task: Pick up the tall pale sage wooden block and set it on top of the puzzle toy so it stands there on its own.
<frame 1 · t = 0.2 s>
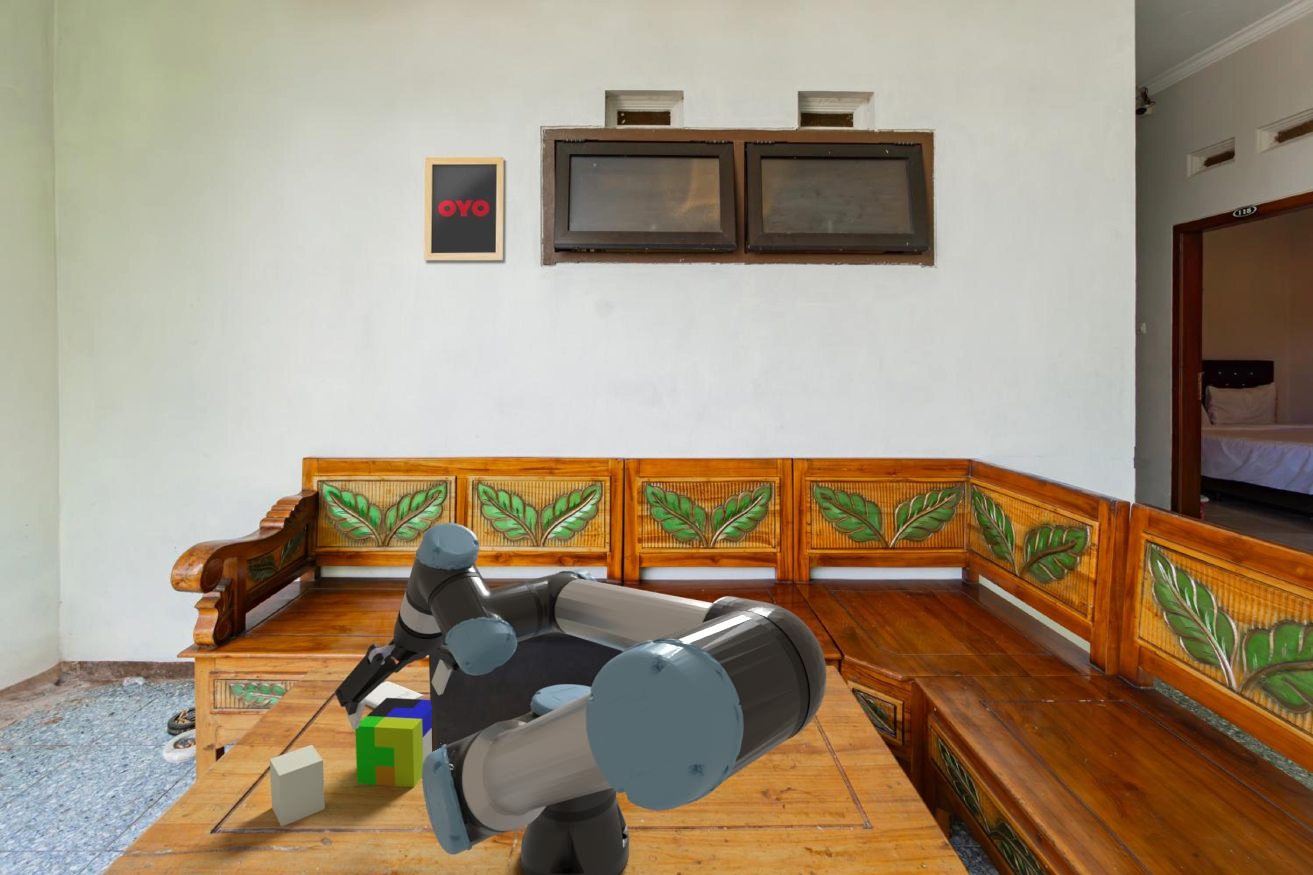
hand: (396, 703, 100), 16 cm above the table, tool tilted 35°, fingers open, 13 cm apart
external hard drive: (389, 702, 136), on the table
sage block: (298, 808, 99), on the table
puzzle toy: (400, 769, 110), on the table
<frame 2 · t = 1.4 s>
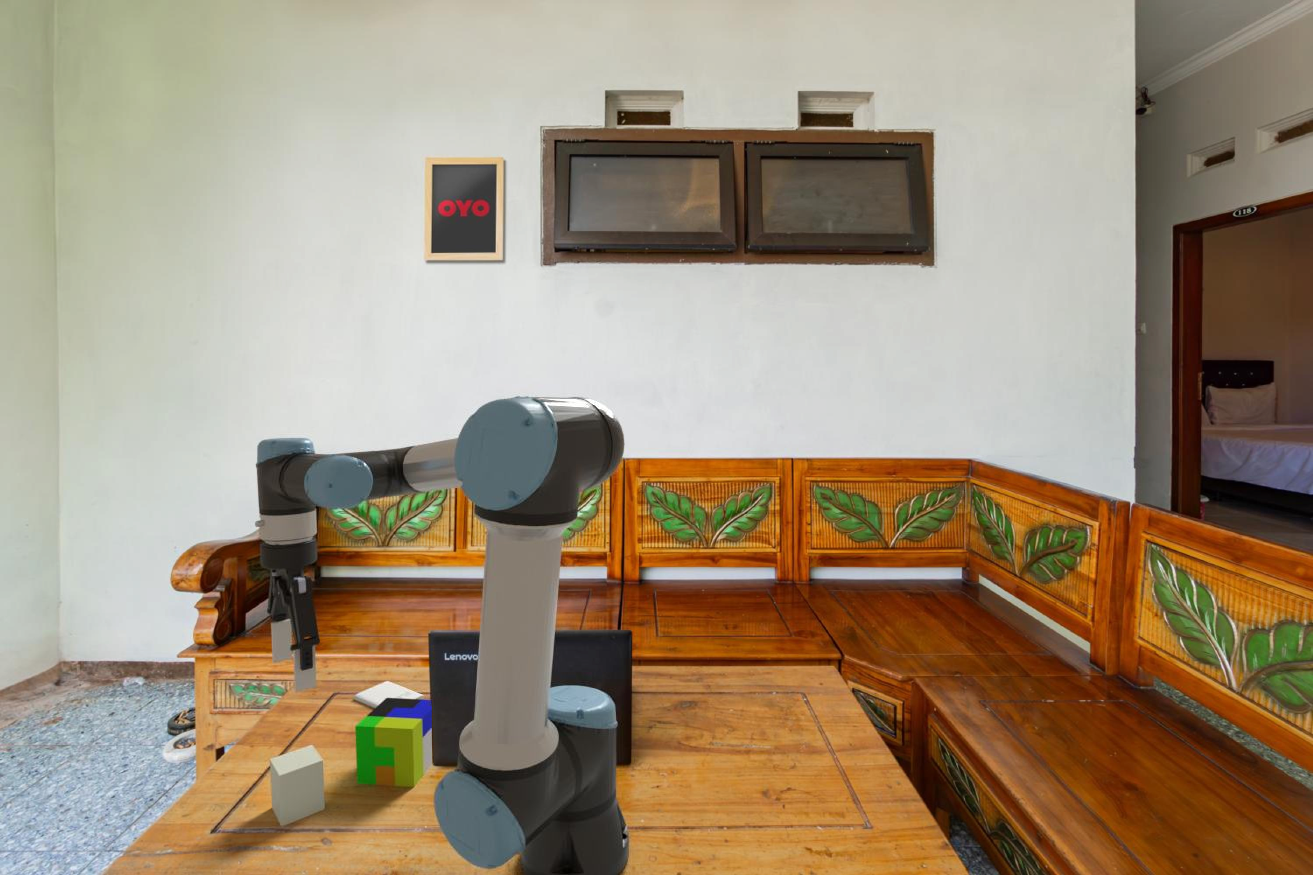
hand: (293, 673, 98), 22 cm above the table, tool pointing down, fingers open, 13 cm apart
nothing on the table moved.
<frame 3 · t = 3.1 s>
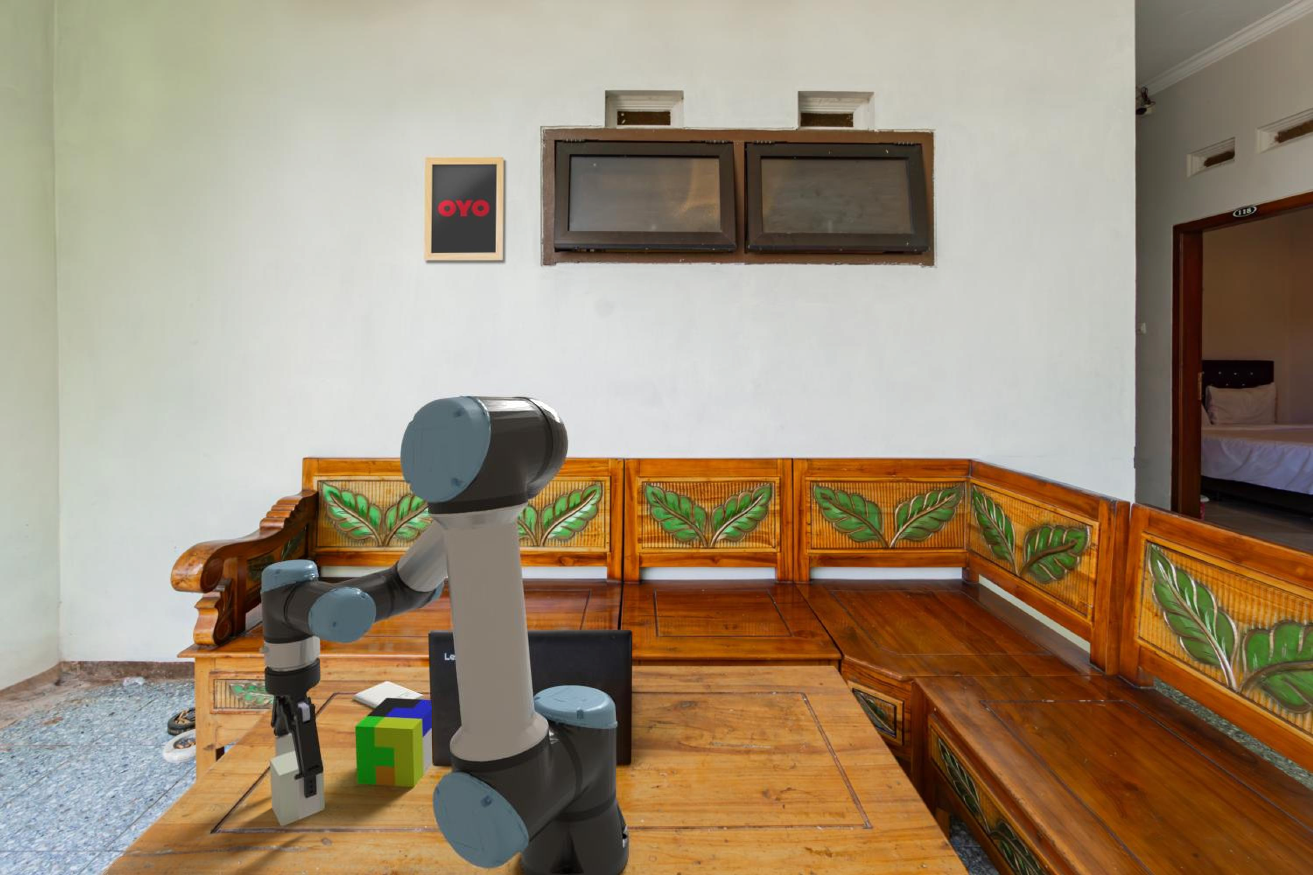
hand: (297, 793, 99), 2 cm above the table, tool pointing down, fingers open, 13 cm apart
nothing on the table moved.
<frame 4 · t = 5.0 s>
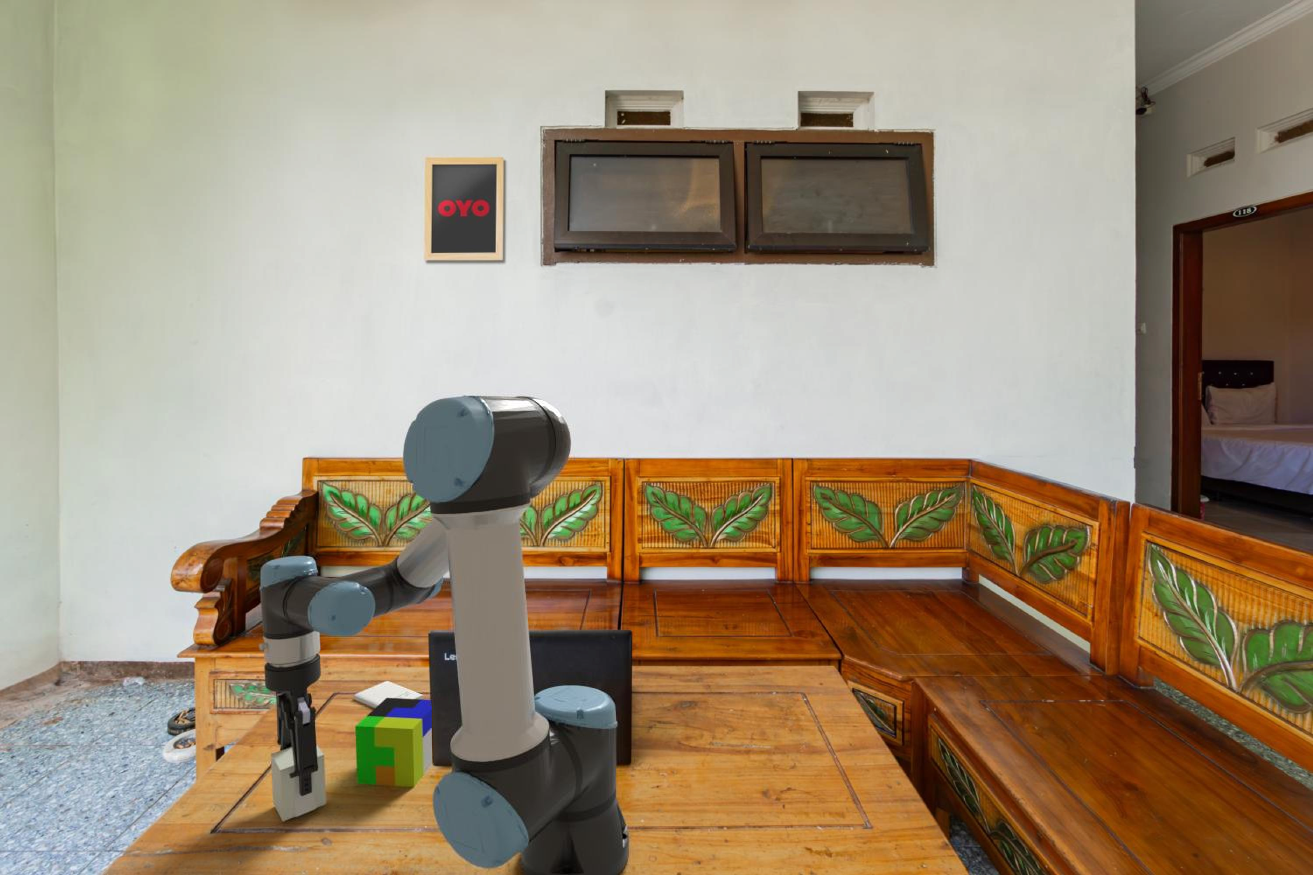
hand: (299, 801, 99), 1 cm above the table, tool pointing down, fingers closed on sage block, 6 cm apart
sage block: (299, 803, 99), point 1 cm above the table, touching gripper
everything else where it was.
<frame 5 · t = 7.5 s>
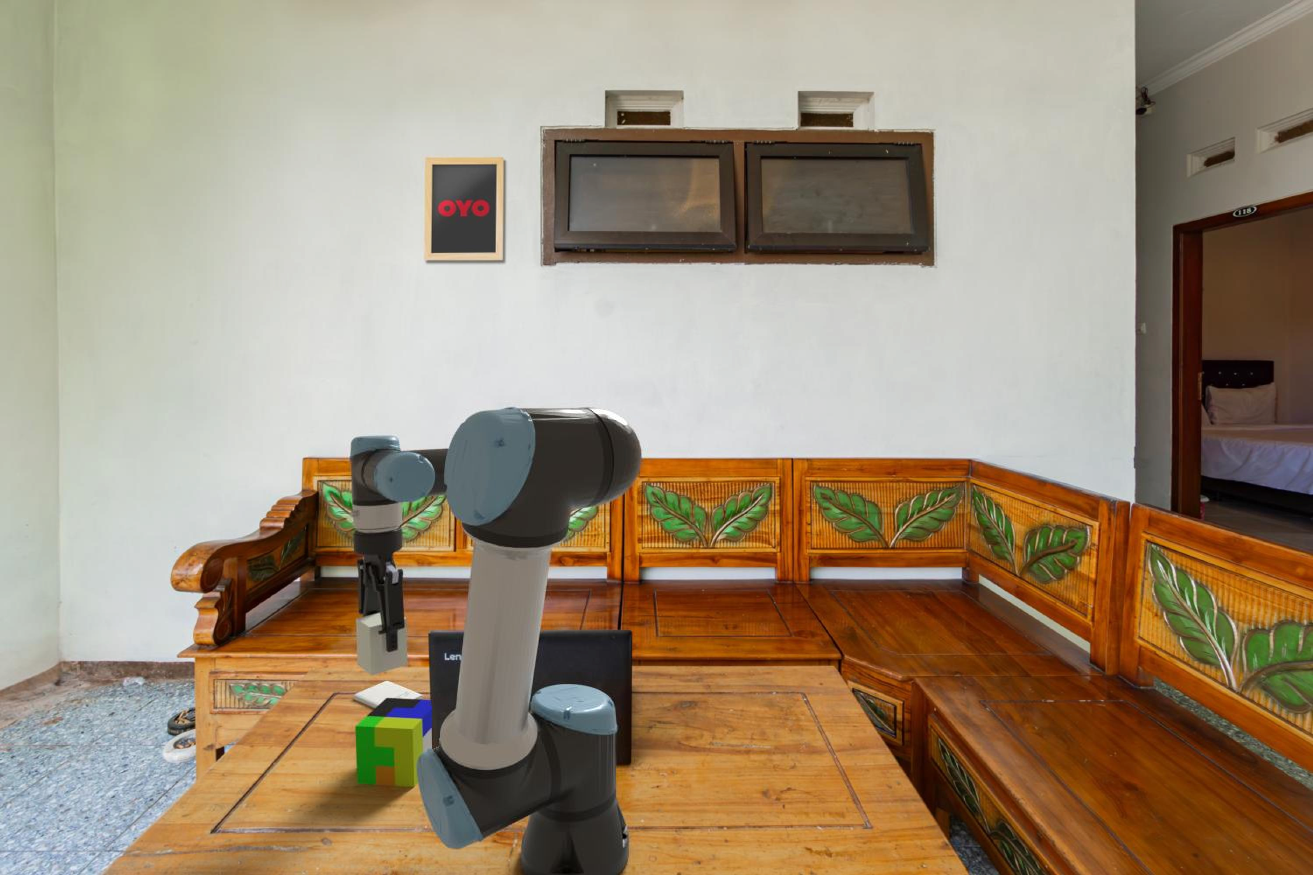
hand: (382, 662, 107), 20 cm above the table, tool pointing down, fingers closed on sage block, 6 cm apart
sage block: (382, 664, 107), point 19 cm above the table, touching gripper
everything else where it was.
when the fingers open (11 cm above the table, at t = 10.0 s): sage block drops 1 cm, resting on puzzle toy.
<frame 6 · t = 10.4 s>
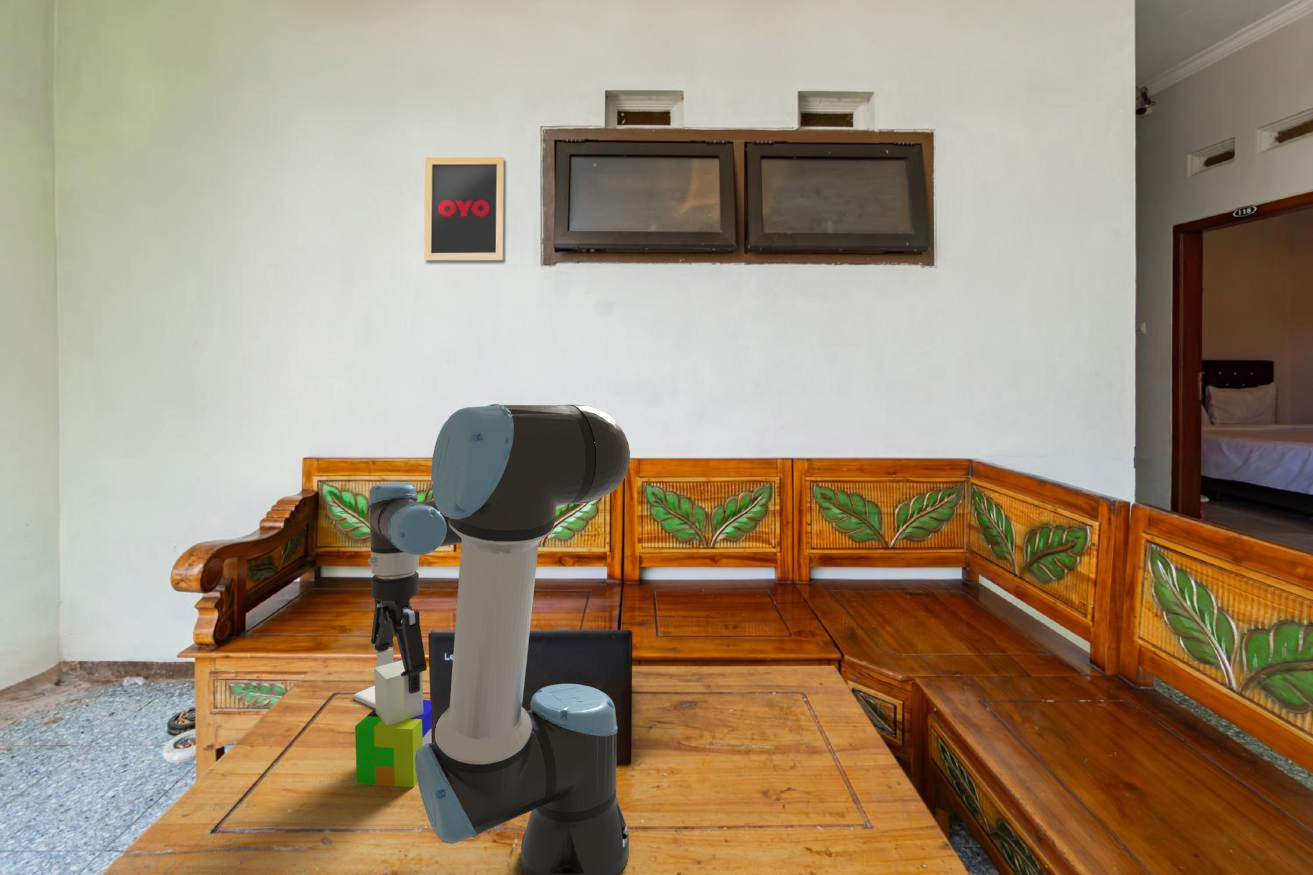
hand: (398, 697, 110), 13 cm above the table, tool pointing down, fingers open, 11 cm apart
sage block: (399, 713, 110), point 10 cm above the table, touching puzzle toy
puzzle toy: (400, 769, 110), on the table, touching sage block
everything else where it was.
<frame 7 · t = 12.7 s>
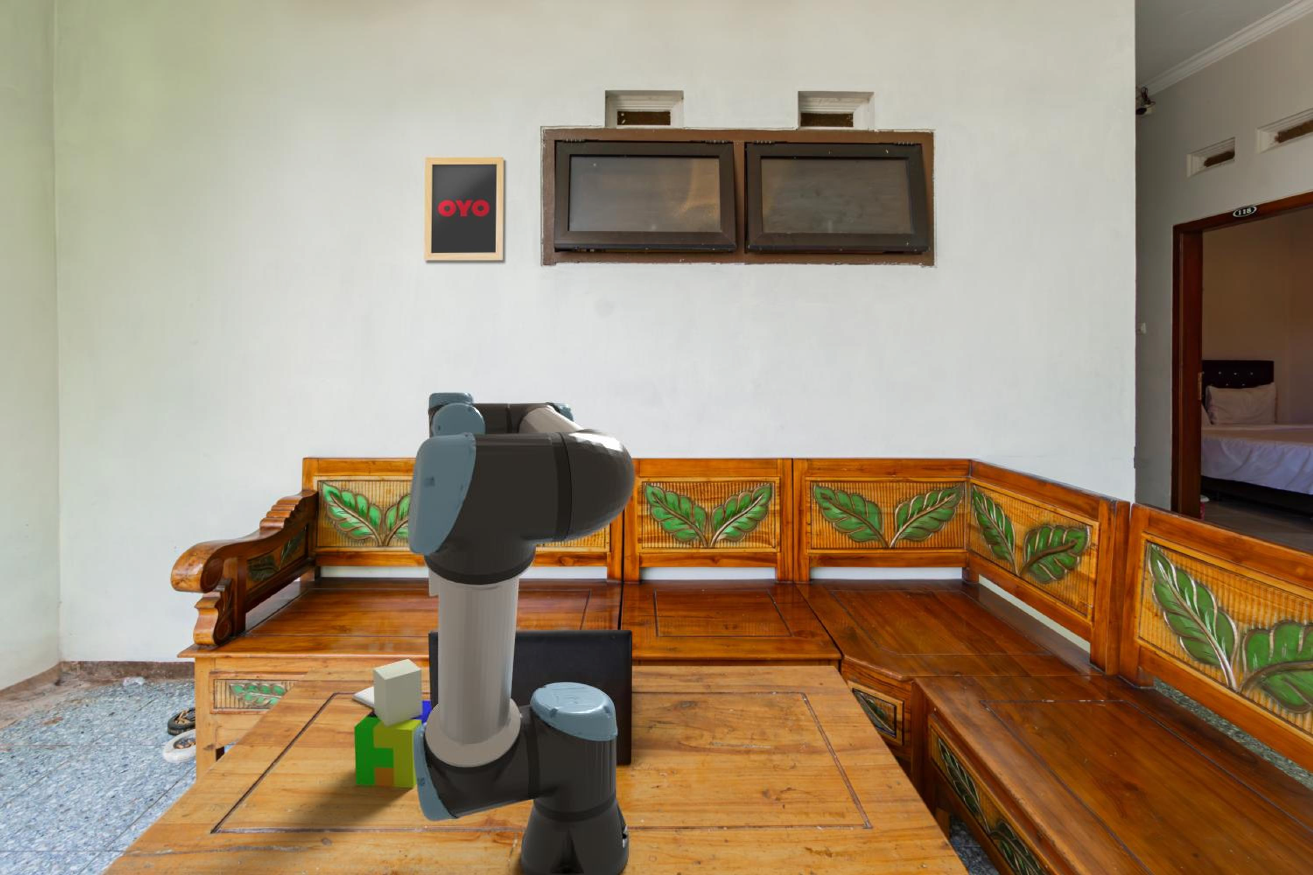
hand: (456, 602, 111), 29 cm above the table, tool pointing down, fingers open, 13 cm apart
nothing on the table moved.
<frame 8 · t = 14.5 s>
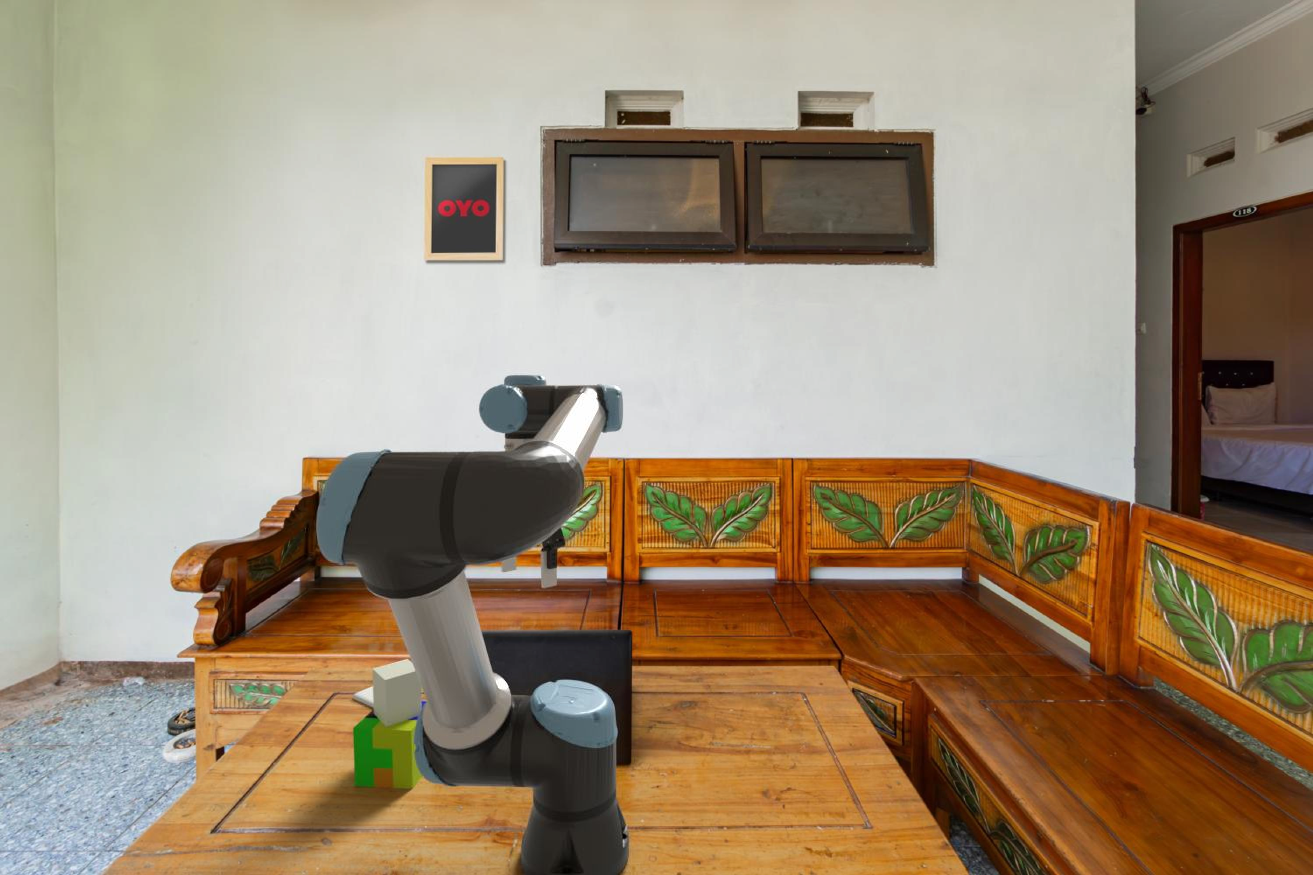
hand: (528, 578, 115), 32 cm above the table, tool pointing down, fingers open, 13 cm apart
nothing on the table moved.
at the end: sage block inside the target area on the puzzle toy (0.1 cm from its centre), point 10.2 cm above the puzzle toy's base; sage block tilted 0°; the gripper is holding nothing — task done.
